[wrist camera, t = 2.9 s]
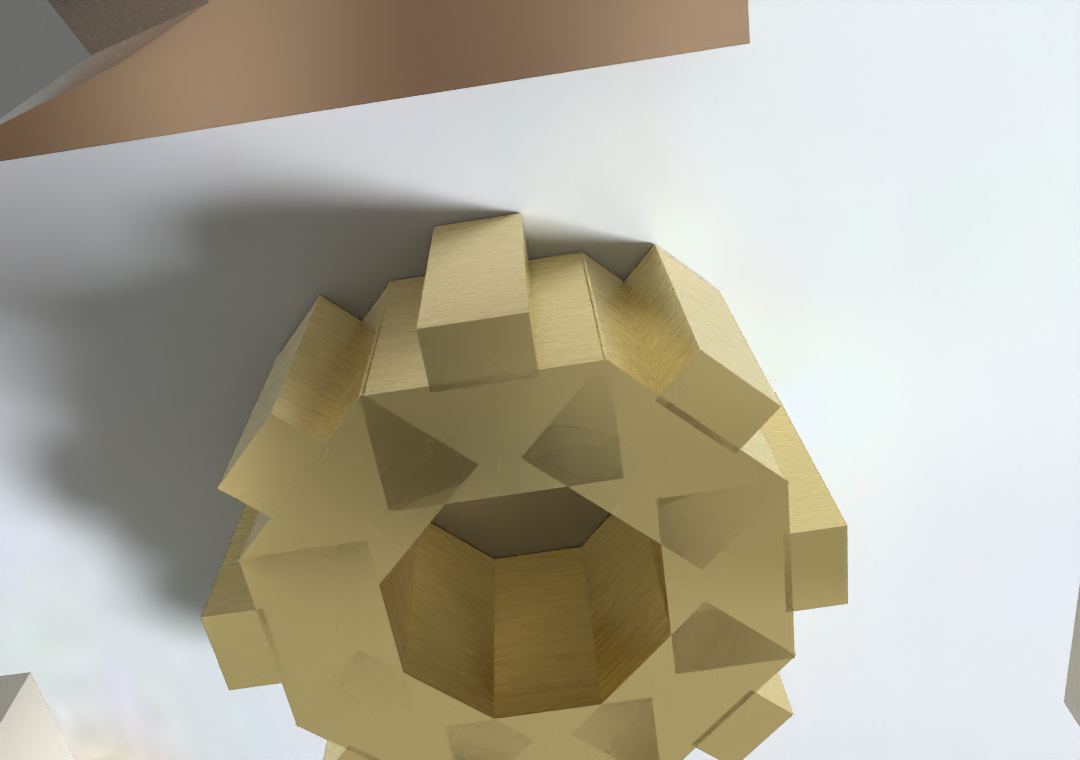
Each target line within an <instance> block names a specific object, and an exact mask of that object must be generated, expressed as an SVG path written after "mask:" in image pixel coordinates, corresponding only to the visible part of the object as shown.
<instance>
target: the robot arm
mask: <svg viewBox="0 0 1080 760" xmlns="http://www.w3.org/2000/svg"><path fill="white" fill-rule="evenodd" d="M1064 703H1065V705H1066V706H1067V708H1068V709H1069V711H1070V712H1071V714H1072V715H1073V717H1074V719H1075V720H1076V722H1077V723H1078V725H1079V726H1080V587H1079V594H1078V602H1077V609H1076V617H1075V624H1074V631H1073V639H1072V646H1071V653H1070V661H1069V668H1068V675H1067V683H1066V690H1065V698H1064ZM0 760H75V758H74V756H73V754H72V752H71V750H70V748H69V746H68V744H67V743H66V741H65V739H64V737H63V735H62V733H61V731H60V729H59V727H58V725H57V723H56V721H55V719H54V717H53V715H52V713H51V711H50V709H49V707H48V706H47V704H46V702H45V700H44V698H43V696H42V694H41V692H40V690H39V688H38V686H37V684H36V682H35V680H34V678H33V676H32V674H31V672H29V673H22V674H14V675H6V676H0Z"/></svg>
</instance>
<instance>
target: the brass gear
mask: <svg viewBox="0 0 1080 760" xmlns="http://www.w3.org/2000/svg"><path fill="white" fill-rule="evenodd" d="M562 487H568V488H570V489H572V490H573V491H575V492H576V493H578V494H580V495H581V496H583V497H585V498H586V499H588V500H590V501H591V502H593V503H594V504H596V505H598V506H599V507H601V508H603V509H604V510H606V511H607V512H609V513H611V515H610V516H609V517H608V518H607V519H606V520H605V521H604V522H603V524H602V525H601V526H600V527H599V528H598V529H597V530H596V531H595V532H594V533H593V535H592V536H591V537H590V538H589V539H588V540H587V541H586V542H585V543H584V544H583V545H582V547H575V548H568V549H561V550H554V551H547V552H540V553H533V554H526V555H519V556H512V557H505V558H498V559H494V558H492V557H490V556H488V555H487V554H485V553H483V552H481V551H480V550H478V549H476V548H474V547H473V546H471V545H469V544H467V543H466V542H464V541H462V540H460V539H458V538H457V537H455V536H453V535H451V534H450V533H448V532H446V531H444V530H443V529H441V528H439V527H437V526H436V525H434V524H432V523H430V522H431V521H432V520H433V519H434V518H435V516H436V515H437V514H438V513H439V511H440V510H441V509H442V508H443V507H444V505H445V504H451V503H458V502H465V501H472V500H479V499H486V498H492V497H499V496H506V495H513V494H520V493H527V492H534V491H541V490H548V489H555V488H562ZM218 489H219V490H221V491H223V492H224V493H226V494H228V495H230V496H232V497H234V498H236V499H237V500H239V501H241V502H243V503H245V504H246V505H245V507H244V510H243V512H242V515H241V517H240V520H239V522H238V525H237V527H236V530H235V532H234V535H233V537H232V540H231V542H230V545H229V548H228V550H227V553H226V555H225V558H224V560H223V563H222V565H221V568H220V570H219V573H218V575H217V578H216V580H215V583H214V586H213V588H212V591H211V593H210V596H209V598H208V601H207V603H206V606H205V608H204V611H203V613H202V616H201V619H202V622H203V624H204V627H205V629H206V632H207V635H208V637H209V640H210V642H211V645H212V648H213V650H214V653H215V655H216V658H217V660H218V663H219V666H220V668H221V671H222V673H223V676H224V679H225V681H226V684H227V686H228V689H229V690H234V689H241V688H249V687H256V686H263V685H270V684H277V683H282V685H283V687H284V690H285V693H286V696H287V699H288V702H289V704H290V707H291V710H292V713H293V716H294V719H295V721H296V724H295V725H297V727H298V726H299V727H301V728H303V729H305V730H308V731H310V732H312V733H314V734H316V735H318V736H320V737H322V738H324V739H327V742H326V748H325V753H324V758H323V760H683V759H684V758H685V757H686V756H687V755H688V754H689V753H690V752H691V751H693V750H694V749H695V748H698V749H700V750H702V751H704V752H705V753H707V754H709V755H711V756H713V757H715V758H717V759H718V760H743V759H744V758H745V757H746V756H747V755H748V754H750V753H751V752H752V751H753V750H754V749H755V748H756V747H757V746H758V745H760V744H761V743H762V742H763V741H764V740H765V739H766V738H767V737H769V736H770V735H771V734H772V733H773V732H774V731H775V730H776V729H778V728H779V727H780V726H781V725H782V724H783V723H784V722H785V721H786V720H788V719H789V718H790V717H791V716H792V715H793V712H792V709H791V706H790V703H789V700H788V698H787V695H786V692H785V689H784V686H783V683H782V681H781V678H780V675H779V672H778V671H779V670H781V669H782V668H783V667H784V666H785V665H786V664H787V663H788V662H789V661H790V660H791V659H792V658H795V656H796V654H795V652H794V626H793V611H799V610H806V609H813V608H820V607H827V606H834V605H841V604H848V566H847V524H846V522H845V520H844V518H843V517H842V515H841V513H840V511H839V509H838V507H837V505H836V504H835V502H834V500H833V498H832V496H831V494H830V492H829V491H828V489H827V487H826V485H825V483H824V481H823V479H822V478H821V476H820V474H819V472H818V470H817V468H816V466H815V465H814V463H813V461H812V459H811V457H810V455H809V453H808V452H807V450H806V448H805V446H804V444H803V442H802V440H801V439H800V437H799V435H798V433H797V431H796V429H795V427H794V426H793V424H792V422H791V420H790V418H789V416H788V415H787V413H786V411H785V409H784V407H783V405H782V403H781V402H780V400H779V398H778V396H777V394H776V392H773V390H772V388H771V386H770V384H769V383H768V381H767V379H766V377H765V375H764V373H763V371H762V369H761V368H760V366H759V364H758V362H757V360H756V358H755V356H754V355H753V353H752V351H751V349H750V347H749V345H748V343H747V341H746V340H745V338H744V336H743V334H742V332H741V330H740V328H739V327H738V325H737V323H736V321H735V319H734V317H733V315H732V313H731V312H730V310H729V308H728V306H727V304H726V302H725V300H724V298H723V297H722V295H721V293H720V291H719V290H717V289H716V288H714V287H713V286H712V285H710V284H709V283H708V282H706V281H705V280H703V279H702V278H701V277H699V276H698V275H697V274H695V273H694V272H693V271H691V270H690V269H688V268H687V267H686V266H684V265H683V264H682V263H680V262H679V261H677V260H676V259H675V258H673V257H672V256H671V255H669V254H668V253H666V252H665V251H664V250H662V249H661V248H660V247H658V246H657V245H654V246H653V247H652V248H651V249H650V251H649V252H648V253H647V254H646V256H645V257H644V258H643V259H642V260H641V262H640V263H639V264H638V265H637V266H636V268H635V269H634V270H633V271H632V273H631V274H630V275H629V276H628V277H627V279H626V280H625V281H622V280H621V279H620V278H618V277H617V276H615V275H614V274H613V273H611V272H610V271H608V270H607V269H605V268H604V267H603V266H601V265H600V264H598V263H597V262H596V261H594V260H593V259H591V258H590V257H588V256H587V255H586V254H584V252H579V253H573V254H566V255H559V256H553V257H546V258H540V259H533V260H529V259H528V253H527V247H526V240H525V234H524V228H523V222H522V215H521V213H518V214H511V215H505V216H498V217H492V218H485V219H479V220H472V221H466V222H459V223H453V224H446V225H440V226H434V229H433V235H432V241H431V247H430V252H429V258H428V264H427V270H426V276H421V277H415V278H408V279H401V280H395V281H392V280H391V281H389V283H388V285H387V287H386V288H385V289H384V291H383V292H382V294H381V295H380V296H379V298H378V299H377V301H376V302H375V303H374V305H373V306H372V308H371V309H370V310H369V312H368V313H367V315H366V316H365V317H364V319H363V320H362V321H361V320H359V319H357V318H356V317H354V316H353V315H351V314H349V313H348V312H346V311H345V310H343V309H342V308H340V307H338V306H337V305H335V304H334V303H332V302H330V301H329V300H327V299H326V298H324V297H322V296H321V295H320V296H319V297H318V298H317V300H316V301H315V303H314V304H313V306H312V307H311V309H310V310H309V311H308V313H307V314H306V316H305V317H304V319H303V320H302V322H301V323H300V325H299V326H298V327H297V329H296V330H295V332H294V333H293V335H292V336H291V338H290V339H289V340H288V342H287V343H286V345H285V346H284V348H283V349H282V351H281V352H280V353H279V355H278V356H277V358H276V360H275V362H274V364H273V367H272V369H271V371H270V373H269V376H268V378H267V380H266V382H265V384H264V387H263V389H262V391H261V393H260V396H259V398H258V400H257V402H256V404H255V407H254V409H253V411H252V413H251V415H250V418H249V420H248V422H247V424H246V427H245V429H244V431H243V433H242V435H241V438H240V440H239V442H238V444H237V447H236V449H235V451H234V453H233V455H232V458H231V460H230V462H229V464H228V467H227V469H226V471H225V473H224V475H223V478H222V480H221V482H220V484H219V486H218Z"/></svg>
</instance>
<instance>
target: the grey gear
mask: <svg viewBox="0 0 1080 760" xmlns="http://www.w3.org/2000/svg"><path fill="white" fill-rule="evenodd" d="M208 2H209V1H208V0H0V125H1V124H3V123H5V122H7V121H8V120H10V119H12V118H14V117H16V116H18V115H20V114H22V113H24V112H26V111H28V110H30V109H32V108H34V107H36V106H38V105H40V104H42V103H44V102H46V101H48V100H50V99H52V98H54V97H56V96H58V95H59V94H61V93H63V92H65V91H67V90H69V89H71V88H73V87H75V86H77V85H79V84H81V83H83V82H85V81H87V80H89V79H91V78H93V77H95V76H97V75H99V74H101V73H103V72H105V71H107V70H108V69H110V68H112V67H114V66H116V65H118V64H120V63H122V62H123V61H125V60H126V59H128V58H129V57H130V56H132V55H133V54H135V53H136V52H138V51H139V50H141V49H142V48H143V47H145V46H146V45H148V44H149V43H151V42H152V41H153V40H155V39H156V38H158V37H159V36H161V35H162V34H164V33H165V32H166V31H168V30H169V29H171V28H172V27H174V26H175V25H177V24H178V23H179V22H181V21H182V20H184V19H185V18H187V17H188V16H190V15H191V14H192V13H194V12H195V11H197V10H198V9H200V8H201V7H203V6H204V5H205V4H207V3H208Z"/></svg>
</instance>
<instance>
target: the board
mask: <svg viewBox="0 0 1080 760" xmlns="http://www.w3.org/2000/svg"><path fill="white" fill-rule="evenodd" d="M208 1H209V2H208V3H207V4H205V5H204V6H203V7H201V8H200V9H198V10H197V11H195V12H194V13H192V14H191V15H190V16H188V17H187V18H185V19H184V20H182V21H181V22H179V23H178V24H177V25H175V26H174V27H172V28H171V29H169V30H168V31H166V32H165V33H164V34H162V35H161V36H159V37H158V38H156V39H155V40H153V41H152V42H151V43H149V44H148V45H146V46H145V47H143V48H142V49H141V50H139V51H138V52H136V53H135V54H133V55H132V56H130V57H129V58H128V59H126V60H125V61H123V62H122V63H120V64H118V65H116V66H114V67H112V68H110V69H108V70H107V71H105V72H103V73H101V74H99V75H97V76H95V77H93V78H91V79H89V80H87V81H85V82H83V83H81V84H79V85H77V86H75V87H73V88H71V89H69V90H67V91H65V92H63V93H61V94H59V95H58V96H56V97H54V98H52V99H50V100H48V101H46V102H44V103H42V104H40V105H38V106H36V107H34V108H32V109H30V110H28V111H26V112H24V113H22V114H20V115H18V116H16V117H14V118H12V119H10V120H8V121H7V122H5V123H3V124H1V125H0V161H5V160H11V159H18V158H24V157H30V156H37V155H43V154H49V153H56V152H62V151H68V150H75V149H81V148H87V147H94V146H100V145H106V144H113V143H119V142H126V141H132V140H138V139H145V138H151V137H157V136H164V135H170V134H176V133H183V132H189V131H195V130H202V129H208V128H214V127H221V126H227V125H233V124H240V123H246V122H252V121H259V120H265V119H272V118H278V117H284V116H291V115H297V114H303V113H310V112H316V111H322V110H329V109H335V108H341V107H348V106H354V105H360V104H367V103H373V102H379V101H386V100H392V99H398V98H405V97H411V96H418V95H424V94H430V93H437V92H443V91H449V90H456V89H462V88H468V87H475V86H481V85H487V84H494V83H500V82H506V81H513V80H519V79H525V78H532V77H538V76H544V75H551V74H557V73H564V72H570V71H576V70H583V69H589V68H595V67H602V66H608V65H614V64H621V63H627V62H633V61H640V60H646V59H652V58H659V57H665V56H671V55H678V54H684V53H690V52H697V51H703V50H709V49H716V48H722V47H729V46H735V45H741V44H748V43H750V38H749V17H748V0H208Z"/></svg>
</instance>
